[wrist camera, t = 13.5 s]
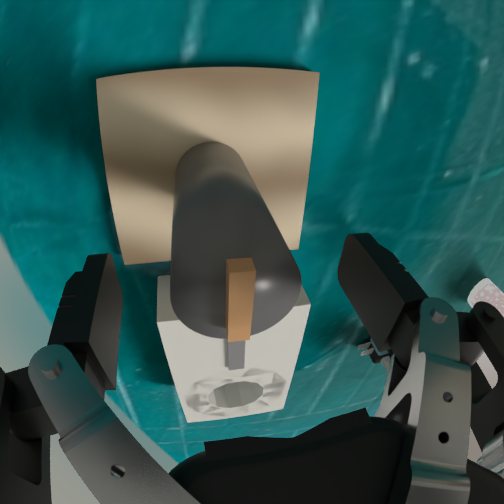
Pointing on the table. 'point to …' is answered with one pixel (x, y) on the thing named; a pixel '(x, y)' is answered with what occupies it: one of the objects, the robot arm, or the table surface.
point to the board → (200, 131)
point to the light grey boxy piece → (230, 363)
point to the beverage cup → (487, 295)
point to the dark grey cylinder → (226, 249)
